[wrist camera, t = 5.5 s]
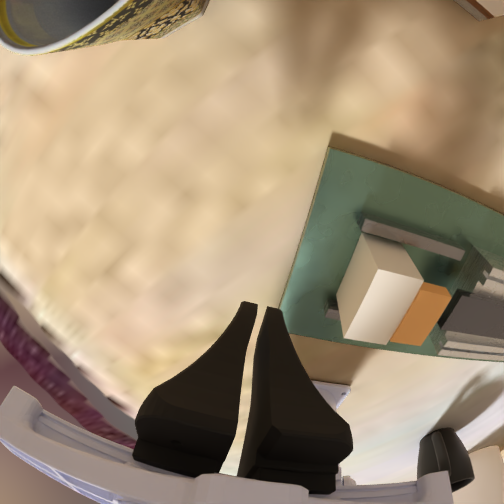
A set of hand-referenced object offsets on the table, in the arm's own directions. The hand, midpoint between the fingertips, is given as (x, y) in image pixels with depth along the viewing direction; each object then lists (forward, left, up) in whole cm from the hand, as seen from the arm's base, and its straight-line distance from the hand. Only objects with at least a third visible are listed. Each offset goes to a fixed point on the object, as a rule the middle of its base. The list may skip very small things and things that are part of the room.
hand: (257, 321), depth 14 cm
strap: (0, -20, -5) cm, 21 cm away
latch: (0, -8, -7) cm, 11 cm away
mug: (-23, -31, -8) cm, 39 cm away
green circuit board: (0, -16, -8) cm, 18 cm away
